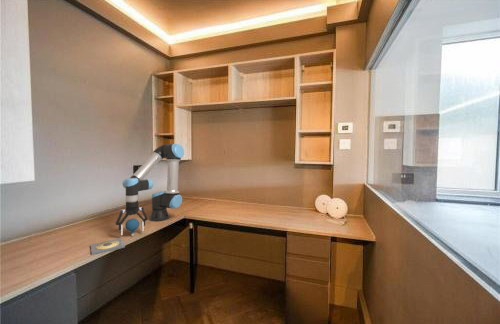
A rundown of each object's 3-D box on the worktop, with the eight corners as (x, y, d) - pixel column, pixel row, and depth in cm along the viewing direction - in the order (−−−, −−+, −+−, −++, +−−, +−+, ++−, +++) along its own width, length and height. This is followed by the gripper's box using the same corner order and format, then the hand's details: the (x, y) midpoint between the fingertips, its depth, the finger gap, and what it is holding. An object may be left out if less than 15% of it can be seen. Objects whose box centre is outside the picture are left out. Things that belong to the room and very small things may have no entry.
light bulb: (141, 235, 146) (141, 218, 145) (128, 239, 140) (127, 221, 139) (136, 232, 151) (136, 216, 151) (123, 236, 145) (123, 218, 145)
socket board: (121, 239, 140) (121, 237, 140) (124, 247, 128) (124, 244, 128) (90, 245, 130) (90, 243, 130) (91, 255, 118) (91, 252, 118)
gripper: (149, 198, 155) (150, 227, 156) (110, 202, 140) (110, 234, 141) (152, 199, 149) (152, 230, 150) (111, 204, 134) (112, 238, 135)
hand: (132, 232), depth 145 cm, fingers open, 12 cm apart
